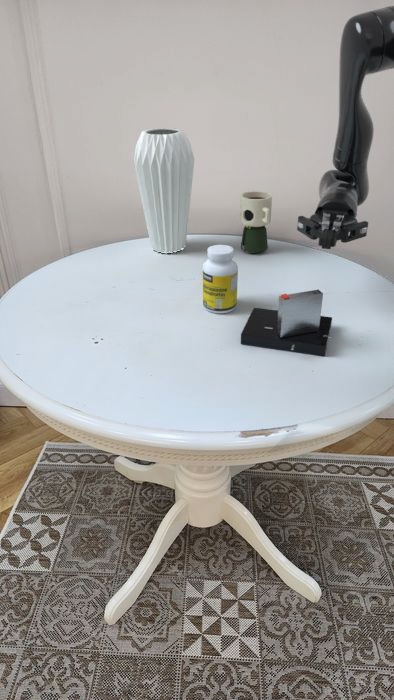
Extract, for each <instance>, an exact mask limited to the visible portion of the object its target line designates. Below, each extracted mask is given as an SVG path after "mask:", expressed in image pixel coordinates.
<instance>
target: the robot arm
mask: <svg viewBox="0 0 394 700" xmlns="http://www.w3.org/2000/svg"><path fill="white" fill-rule="evenodd" d="M338 63H339V64H338V65H339V66H338V67H339V68H338V120H337V129H336V135H335V142H334V146H333V153H332V160H331V161H332V165H333V167H334V168H335V169H330V170H326V171H325V172H324V173H323V174H322V176H321V178H320V180H319V183H318V196H319V199H320V200H319V201H318V204H317V207H316V209H315V211H314V214H312V215H310V217H306V216H304V215H298V217H297V227H296V231H298V232H299V233H301V234H302V235H304V236H306V237H307V238H308V239H310V240H314V241H315V240H316V241H317V240H318V243H317V244H318V246H320V247H321V249H323V250H331V249H332V248H335V247H336V245H337V243H338V241H340V243H343V244H344V243H345V244H347V243H350V242H352V241H356V240H359V239H362V238H366V237H367V234H368V229H369V221H366V220H363V221H358V219H357V216H358V207H360V206H362V205H363V204H364V203H365V202H366V201H367V198H368V196H369V192H370V180H369V174H368V161H369V156H370V152H371V148H372V145H373V140H374V129H375V128H374V123H373V119H372V116H371V114H370V112H369V110H368V108H367V106H366V104H365V102H364V100H363V96H362V89H363V84H364V81H365V78H366V76H368V75H373V74H377V73H381V72H384V71H388V70H392V69H394V5H389V6H385V7H381V8H378V9H374V10H373V9H372V10H370V11H366V12H361V13H358V14H356V15H355V14H354V15H353V16H351V17H350V18H349V19H347V21H346V23H345V25H344V26H343V29H342V32H341V38H340V45H339V59H338Z"/></svg>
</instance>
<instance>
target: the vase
mask: <svg viewBox="0 0 394 700" xmlns="http://www.w3.org/2000/svg"><path fill="white" fill-rule="evenodd" d="M134 149H135V150H134V157H133V165H134V170H135V171H134V172H135V175H136V181H137V186H138V189H139V195H140V200H141V205H142V209H143V210H142V211H143V214H144V218H145V219H144V220H145V224H146V228H147V233H148V239H149V243H150V247H151V249H152V248H153V250H156V251H161V252H164V251H165V252H166V253H167V252H169V251H170V252H173V251H177V250H181V248H184V246H187V245H186V244H187V237H188V226H189V218H190V217H189V216H190V206H191V196H192V188H193V187H192V186H193V177H194V169H195V167H194V166H195V165H194V164H195V157H194V156H195V155H194V152H193V149H192V145H191V142H190V140H189V138H188V137H187V135H186V134H185V132H184V130H183V129H181V128H176V127H175V128H172V127H157V128H149V129H146V130H143V131H141V133H140V135H139V138H138V139H137V142H136V144H135V148H134ZM153 250H152V251H153Z"/></svg>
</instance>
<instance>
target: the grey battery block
mask: <svg viewBox="0 0 394 700" xmlns="http://www.w3.org/2000/svg"><path fill="white" fill-rule="evenodd" d="M323 298H324V293H323V292H322V291H321V290H320V289H314V290H307V291H300V292H295V293H289V294H287V293H283V294H280V295H279V296H278V308H277V310H278V321H277V335H278V336H279V337H280V338H284V337H289V336H295V335H300V334H306V333H311V332H317V331H319V325H320V316H322V308H323V307H322V306H323Z"/></svg>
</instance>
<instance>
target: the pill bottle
mask: <svg viewBox="0 0 394 700" xmlns="http://www.w3.org/2000/svg"><path fill="white" fill-rule="evenodd" d="M206 254H207V260H205V261H204V263H203V265H202V306H203V308H204V309H205V310H206V311H208V312H210V313H213V314H227V313H230V312H232V311H234V310H235V309H236V307H237V304H238V279H239V266H238V263H237V262H236V261H235V260H234V257H235V256H234V248H233V246H231V245H229V244H228V245H227V244H214V245H210V246H209V247H207V253H206Z"/></svg>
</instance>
